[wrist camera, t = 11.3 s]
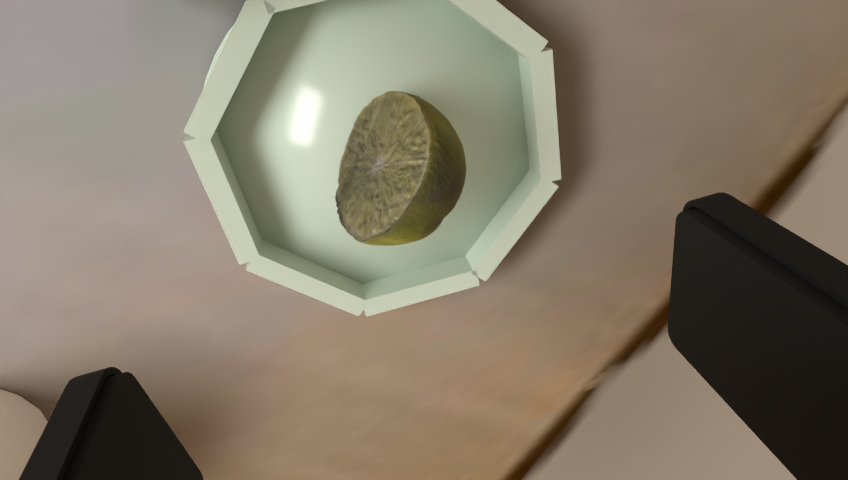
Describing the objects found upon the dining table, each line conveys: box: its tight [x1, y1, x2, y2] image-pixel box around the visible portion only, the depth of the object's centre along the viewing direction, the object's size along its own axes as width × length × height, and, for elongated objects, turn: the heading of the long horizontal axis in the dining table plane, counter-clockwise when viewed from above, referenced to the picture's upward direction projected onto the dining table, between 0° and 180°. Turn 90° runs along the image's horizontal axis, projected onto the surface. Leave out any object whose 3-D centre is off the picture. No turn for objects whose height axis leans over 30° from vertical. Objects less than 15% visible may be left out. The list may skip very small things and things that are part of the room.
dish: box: [183, 0, 561, 317], centre depth 19 cm, size 13×13×2 cm
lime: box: [335, 91, 466, 246], centre depth 17 cm, size 4×5×5 cm
